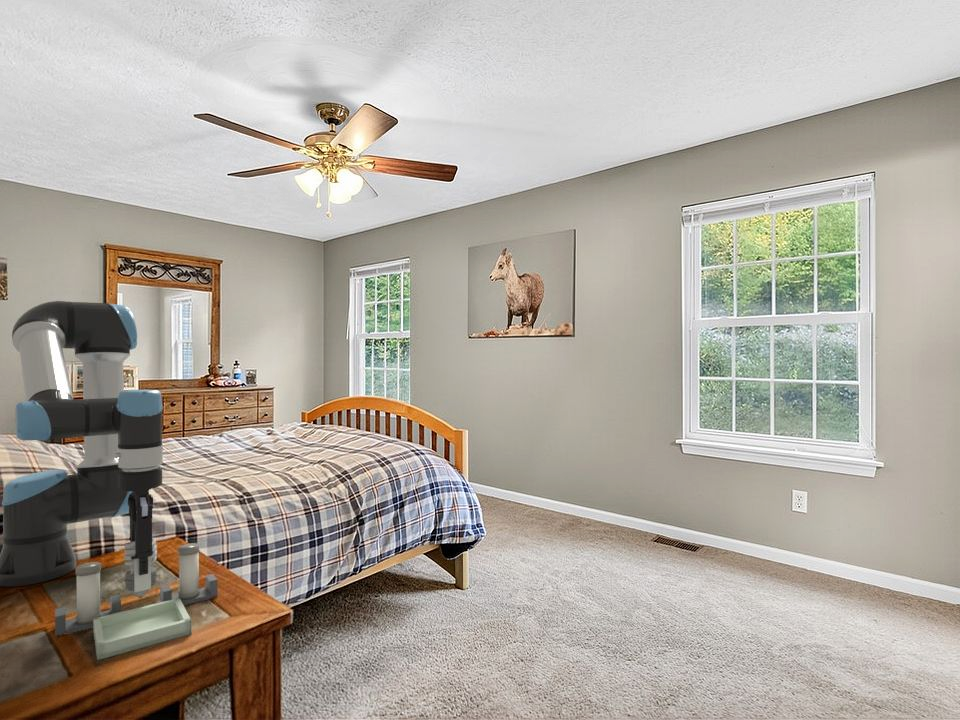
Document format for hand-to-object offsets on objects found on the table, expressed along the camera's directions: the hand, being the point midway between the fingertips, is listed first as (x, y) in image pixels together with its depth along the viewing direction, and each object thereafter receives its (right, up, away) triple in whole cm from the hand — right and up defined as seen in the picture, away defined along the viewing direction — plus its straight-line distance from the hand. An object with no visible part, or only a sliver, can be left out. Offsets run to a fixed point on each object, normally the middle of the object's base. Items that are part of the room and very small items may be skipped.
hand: (140, 584), depth 109 cm
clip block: (0, -5, 0) cm, 5 cm away
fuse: (-6, -5, -5) cm, 10 cm away
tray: (+6, -5, -9) cm, 12 cm away
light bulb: (0, -3, 0) cm, 3 cm away
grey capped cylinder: (+7, -5, +5) cm, 10 cm away
